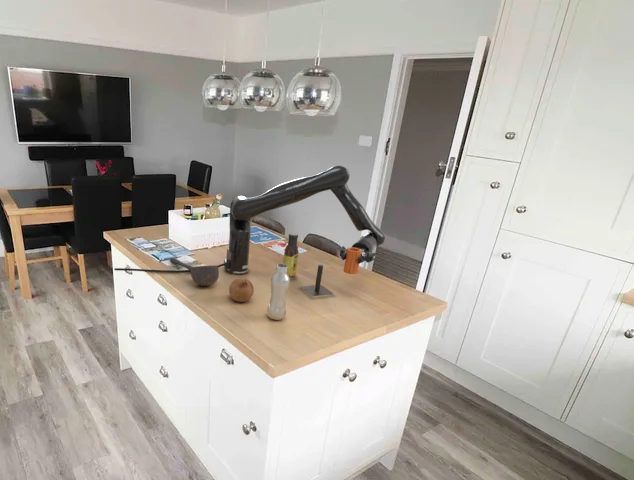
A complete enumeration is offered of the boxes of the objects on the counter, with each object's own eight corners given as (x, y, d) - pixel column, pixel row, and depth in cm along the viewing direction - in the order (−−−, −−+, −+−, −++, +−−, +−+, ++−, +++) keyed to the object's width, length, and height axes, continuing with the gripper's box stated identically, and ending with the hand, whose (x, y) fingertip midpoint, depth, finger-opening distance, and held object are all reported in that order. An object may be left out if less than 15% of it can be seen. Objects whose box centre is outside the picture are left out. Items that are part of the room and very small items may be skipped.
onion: (244, 311, 159) (249, 294, 152) (223, 300, 161) (226, 283, 153) (255, 295, 165) (260, 278, 158) (234, 285, 167) (238, 268, 159)
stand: (312, 298, 168) (316, 270, 163) (300, 288, 176) (304, 261, 171) (333, 296, 171) (338, 268, 166) (320, 286, 180) (324, 260, 175)
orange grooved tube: (348, 274, 157) (352, 252, 154) (340, 270, 162) (344, 247, 158) (360, 273, 159) (364, 251, 156) (352, 269, 164) (356, 247, 160)
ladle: (200, 288, 163) (199, 262, 161) (159, 279, 194) (158, 258, 192) (225, 286, 170) (225, 261, 168) (181, 278, 200) (181, 257, 199)
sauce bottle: (294, 280, 184) (300, 237, 175) (280, 278, 185) (285, 235, 176) (296, 275, 190) (301, 233, 181) (282, 273, 191) (287, 231, 182)
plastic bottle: (265, 313, 152) (270, 261, 144) (283, 314, 153) (290, 262, 145) (267, 321, 146) (273, 268, 138) (286, 322, 147) (293, 269, 139)
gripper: (347, 236, 171) (334, 245, 157) (382, 243, 165) (372, 253, 151) (344, 253, 174) (331, 264, 161) (378, 261, 168) (368, 273, 155)
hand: (351, 259), depth 156 cm, fingers closed on orange grooved tube, 5 cm apart
